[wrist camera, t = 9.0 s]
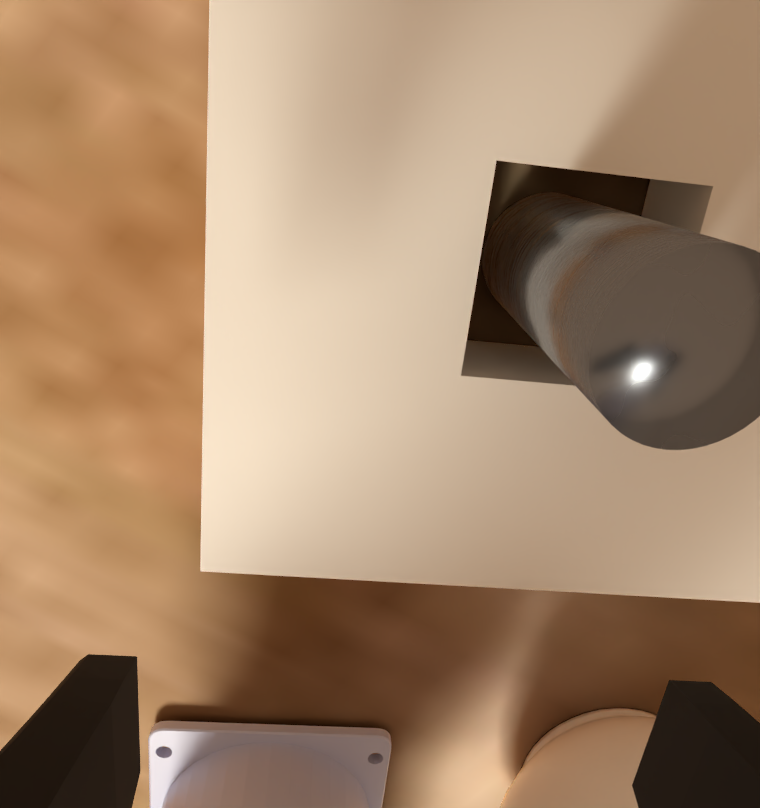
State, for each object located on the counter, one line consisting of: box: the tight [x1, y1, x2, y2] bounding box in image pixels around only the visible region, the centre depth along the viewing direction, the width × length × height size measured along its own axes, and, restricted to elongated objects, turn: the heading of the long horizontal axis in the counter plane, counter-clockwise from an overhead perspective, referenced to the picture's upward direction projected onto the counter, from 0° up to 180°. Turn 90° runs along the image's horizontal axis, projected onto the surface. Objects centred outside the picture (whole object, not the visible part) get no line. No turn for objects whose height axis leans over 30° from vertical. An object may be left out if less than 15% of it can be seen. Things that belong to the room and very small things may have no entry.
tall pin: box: [482, 192, 760, 450], centre depth 14 cm, size 3×3×8 cm
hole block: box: [200, 0, 760, 603], centre depth 16 cm, size 16×16×3 cm
